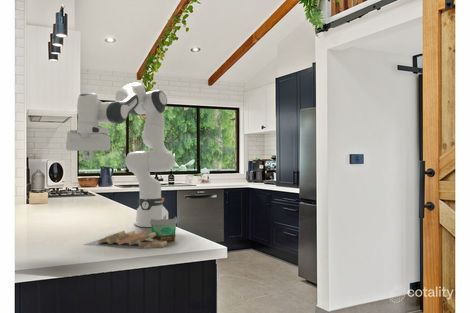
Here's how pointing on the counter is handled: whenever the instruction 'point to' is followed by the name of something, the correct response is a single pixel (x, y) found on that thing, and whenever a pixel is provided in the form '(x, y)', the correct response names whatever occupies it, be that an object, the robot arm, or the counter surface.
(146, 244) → the maple domino
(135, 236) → the terracotta domino
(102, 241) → the maple domino
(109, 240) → the maple domino
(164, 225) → the food container
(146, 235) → the maple domino
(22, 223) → the counter surface
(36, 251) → the counter surface
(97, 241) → the flat board
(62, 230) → the counter surface
